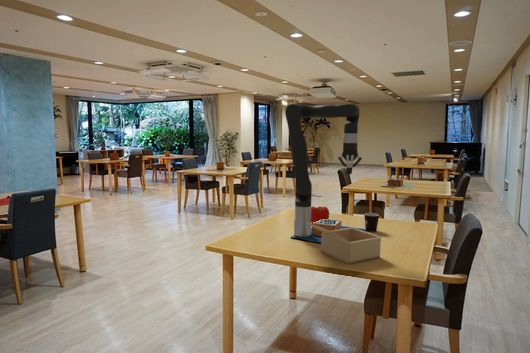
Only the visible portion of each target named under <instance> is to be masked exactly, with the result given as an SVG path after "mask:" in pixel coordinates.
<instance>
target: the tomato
mask: <svg viewBox="0 0 530 353" xmlns="http://www.w3.org/2000/svg"><path fill="white" fill-rule="evenodd" d="M329 218H330V210H329V209H328V207H327V206H317V207H315V206H311V224H313V222H316V221H319V220H320V219H328V220H329Z"/></svg>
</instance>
